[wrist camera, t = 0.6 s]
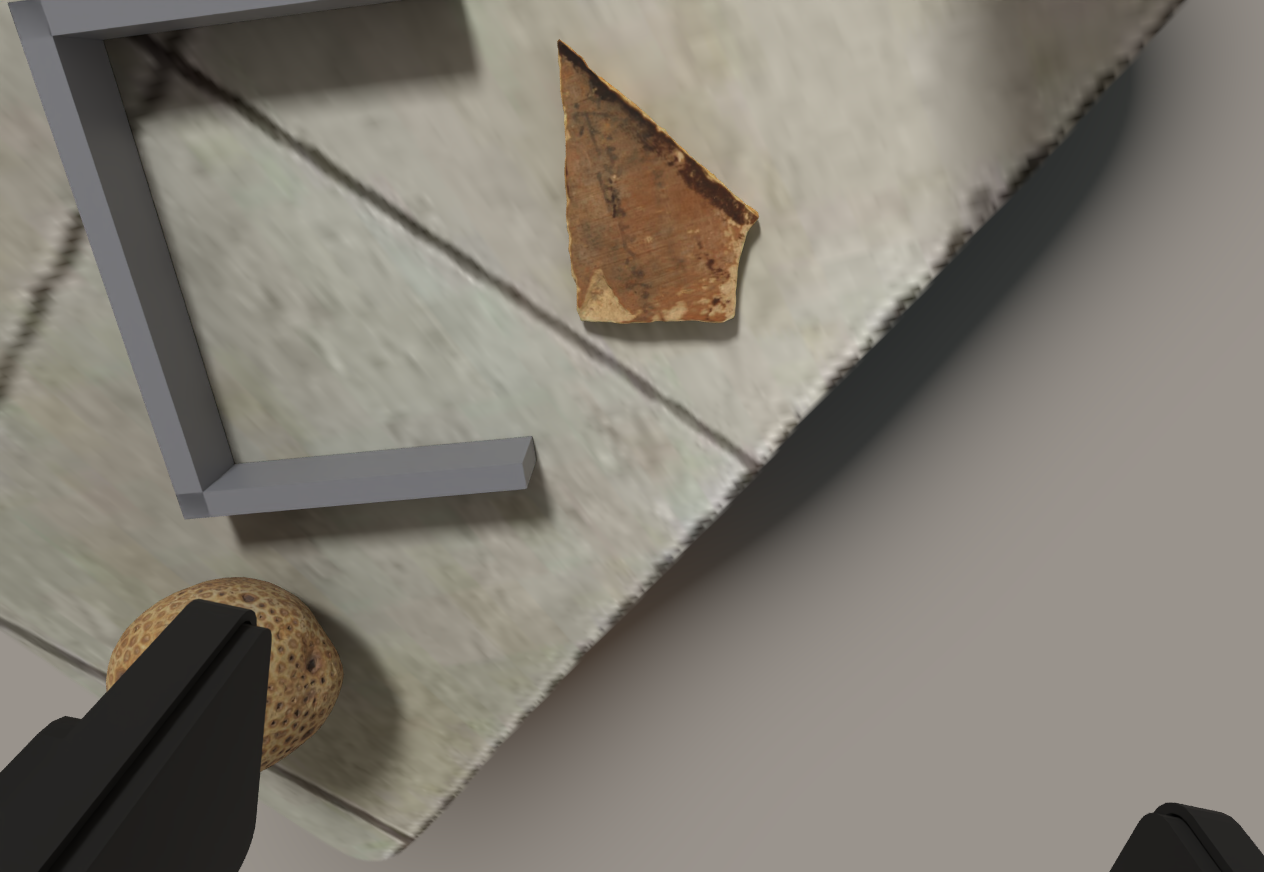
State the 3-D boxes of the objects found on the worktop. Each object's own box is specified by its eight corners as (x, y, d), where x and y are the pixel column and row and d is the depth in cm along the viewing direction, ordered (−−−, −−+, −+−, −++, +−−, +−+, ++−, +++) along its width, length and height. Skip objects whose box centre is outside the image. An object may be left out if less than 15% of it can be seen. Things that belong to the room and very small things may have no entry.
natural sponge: (395, 577, 42) (321, 715, 33) (337, 708, 45) (254, 868, 36) (215, 501, 41) (85, 623, 32) (169, 642, 44) (38, 790, 35)
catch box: (62, 9, 33) (7, 2, 30) (451, -44, 32) (431, -56, 29) (217, 489, 41) (184, 519, 38) (536, 460, 40) (526, 489, 37)
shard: (561, 41, 33) (556, 39, 32) (760, 35, 33) (765, 32, 32) (575, 316, 38) (571, 327, 36) (752, 312, 37) (757, 323, 36)
